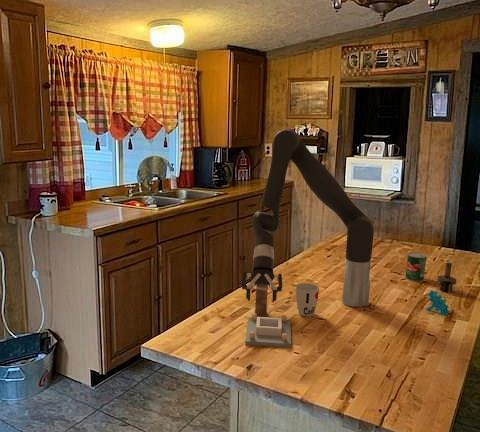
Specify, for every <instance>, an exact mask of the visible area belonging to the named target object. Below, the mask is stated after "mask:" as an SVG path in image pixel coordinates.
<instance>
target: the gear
mask: <svg viewBox="0 0 480 432" xmlns="http://www.w3.org/2000/svg"><path fill="white" fill-rule="evenodd" d="M438 293H439V292H437V291H436V290H430V291H429V293H428V294H427V295H428V296H429V297H428V301H430V302H431V303H430V304H431V305H430V306H428V307H427V308H426V310H427V311H430V310H432V309H435V311H436V313H439V314H440V315H441V316H445V315H446V316H448V314H449V313H450V310H449V305H448V304H447V299H446V298H443V296H442V295H441V294H438ZM435 307H436V308H435Z"/></svg>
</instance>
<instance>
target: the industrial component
mask: <svg viewBox="0 0 480 432" xmlns="http://www.w3.org/2000/svg"><path fill="white" fill-rule="evenodd" d="M452 265H453V264H452V262H450V261H446V262H445V271H444V275H438V276H437V279H436V281H437V282H438V283H439V291H441V292H444V293H445V292H446V293H447V294H449V293H452V292H453V291H452V290H453V285H454V286H455V285H456V284H457V278H456V277H453V276H451V272H452Z"/></svg>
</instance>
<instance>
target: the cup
mask: <svg viewBox="0 0 480 432" xmlns="http://www.w3.org/2000/svg"><path fill="white" fill-rule="evenodd" d="M319 291H320V287H319V286H318V284H313V283H309V282H307V283H306V282H305V283H303V282H302V283H298V284H296V285H295V300H296V308H297V311H298V314H299V315H300V316H302V317H312V316H314V314H315V311H316V308H317V304H318V300H319Z"/></svg>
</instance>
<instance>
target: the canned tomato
mask: <svg viewBox="0 0 480 432" xmlns="http://www.w3.org/2000/svg"><path fill="white" fill-rule="evenodd" d="M426 265H427V254H425V253H422V252H416V251H415V252H408V253H407V256H406V268H405V276H404V278H405V280H408V281H410V282H417V283H418V282H423V281H424V280H425V274H426Z"/></svg>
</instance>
